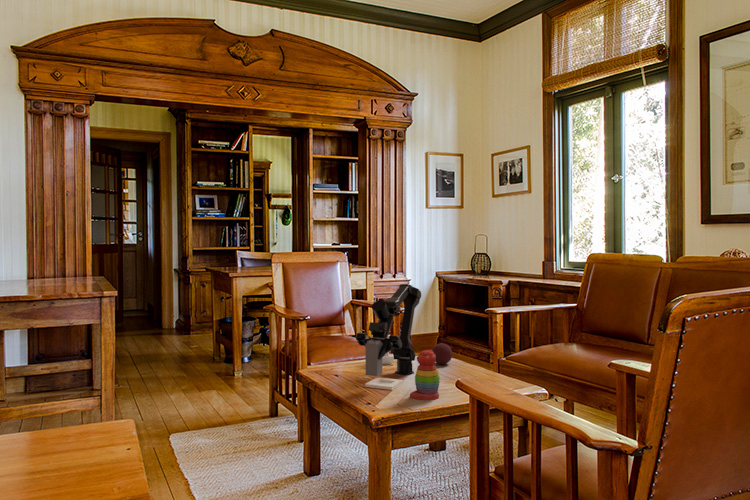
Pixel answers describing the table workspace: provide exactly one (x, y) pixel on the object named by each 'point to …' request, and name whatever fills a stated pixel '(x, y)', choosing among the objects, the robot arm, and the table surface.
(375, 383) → the socket
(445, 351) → the decorative ball
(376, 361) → the plug
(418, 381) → the stacking bear
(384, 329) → the robot arm
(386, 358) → the figurine
